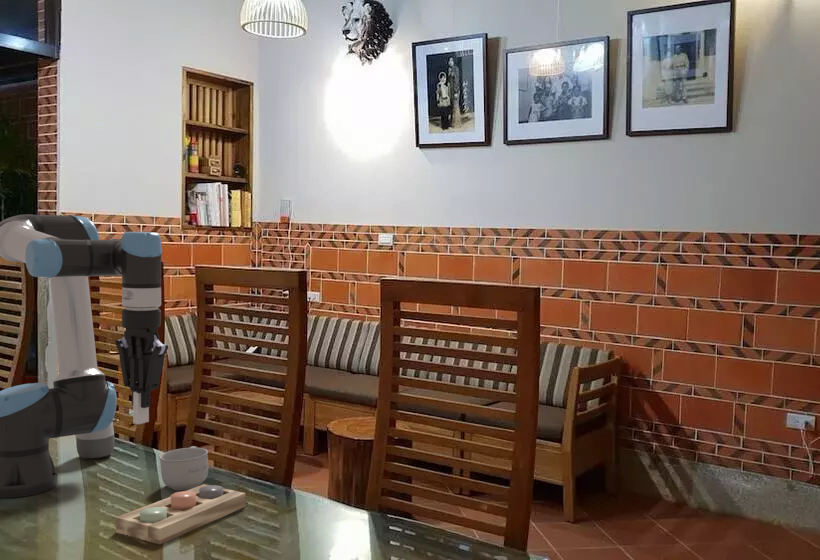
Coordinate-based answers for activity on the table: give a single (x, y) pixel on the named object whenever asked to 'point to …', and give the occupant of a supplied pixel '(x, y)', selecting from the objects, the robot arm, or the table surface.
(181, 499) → the terracotta button
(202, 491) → the charcoal button
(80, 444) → the smart speaker
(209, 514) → the button panel
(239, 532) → the table surface
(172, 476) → the teacup
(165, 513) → the sage button
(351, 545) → the table surface
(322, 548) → the table surface
